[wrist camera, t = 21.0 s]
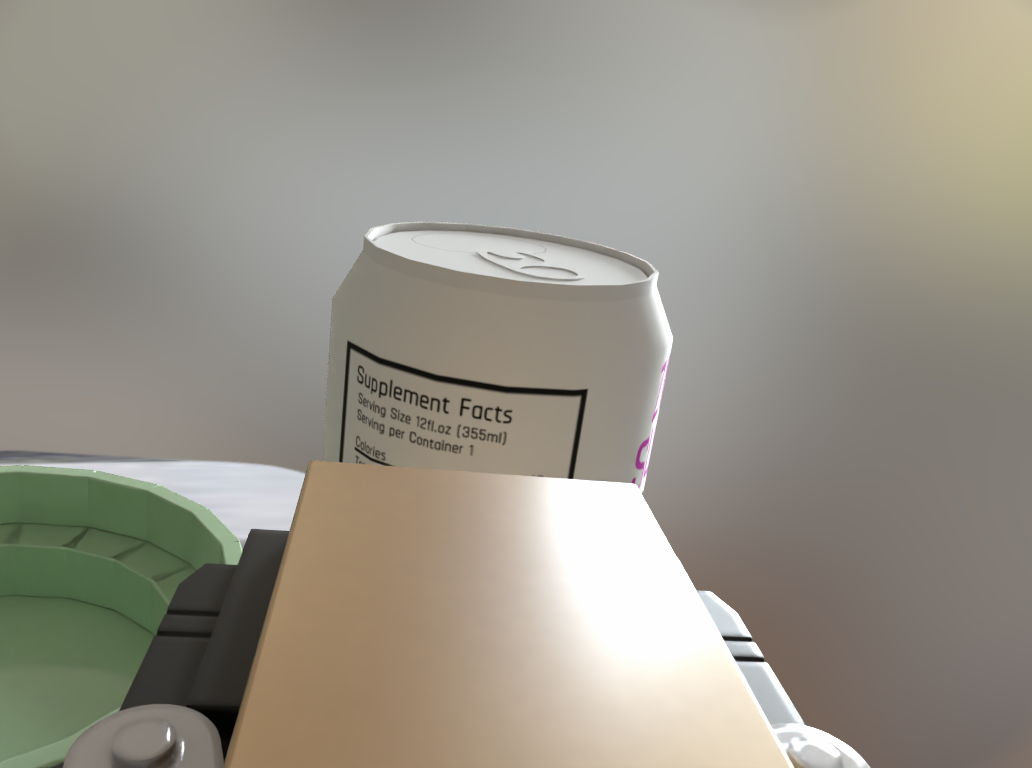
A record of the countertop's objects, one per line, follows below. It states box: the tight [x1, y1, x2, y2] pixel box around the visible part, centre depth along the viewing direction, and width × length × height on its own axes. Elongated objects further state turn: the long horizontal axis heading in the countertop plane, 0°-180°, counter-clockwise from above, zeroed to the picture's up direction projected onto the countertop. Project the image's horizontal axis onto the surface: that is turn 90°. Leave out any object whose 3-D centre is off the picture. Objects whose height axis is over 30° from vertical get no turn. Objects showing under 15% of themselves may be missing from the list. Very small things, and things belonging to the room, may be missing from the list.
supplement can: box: [322, 222, 673, 495], centre depth 23 cm, size 8×8×15 cm
